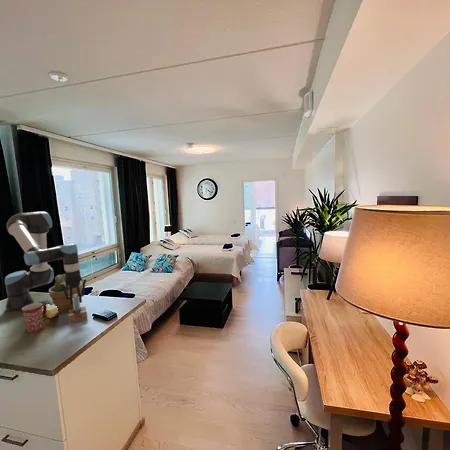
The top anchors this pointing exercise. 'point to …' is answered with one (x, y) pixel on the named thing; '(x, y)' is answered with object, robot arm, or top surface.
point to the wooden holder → (77, 315)
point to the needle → (76, 303)
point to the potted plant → (62, 294)
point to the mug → (34, 316)
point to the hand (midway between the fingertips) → (77, 308)
